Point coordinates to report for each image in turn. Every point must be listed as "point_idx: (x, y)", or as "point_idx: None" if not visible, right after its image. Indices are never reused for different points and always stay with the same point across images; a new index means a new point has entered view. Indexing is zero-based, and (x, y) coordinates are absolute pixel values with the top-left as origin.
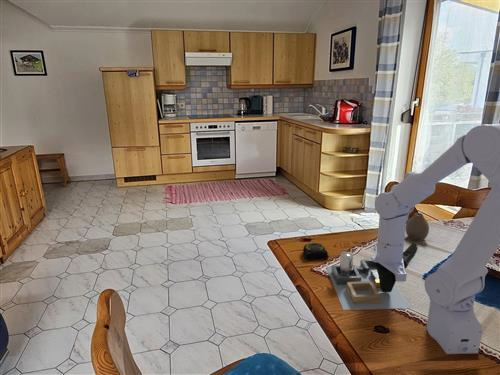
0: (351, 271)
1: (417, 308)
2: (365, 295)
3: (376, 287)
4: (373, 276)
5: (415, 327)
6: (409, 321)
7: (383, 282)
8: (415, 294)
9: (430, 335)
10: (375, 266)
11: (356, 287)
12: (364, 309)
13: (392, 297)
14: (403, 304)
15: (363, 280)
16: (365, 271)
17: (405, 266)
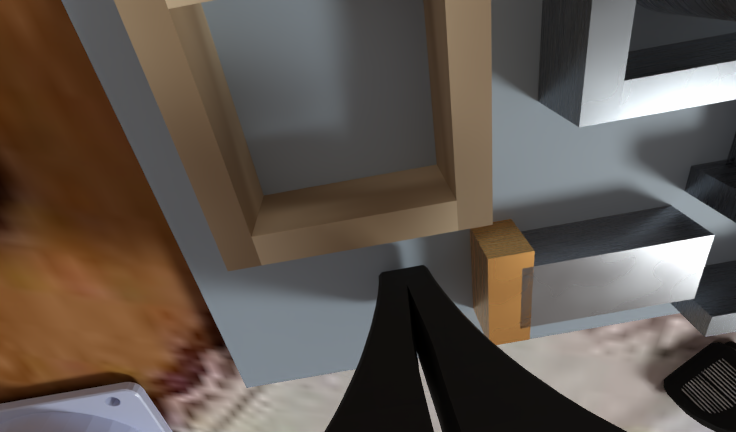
0: (726, 3)
1: (295, 393)
2: (196, 128)
3: (472, 230)
4: (614, 237)
5: (102, 363)
6: (149, 346)
7: (365, 357)
8: (431, 402)
9: (7, 427)
10: (577, 411)
11: (433, 40)
12: (100, 80)
13: (347, 313)
14: (276, 358)
15: (599, 134)
16: (723, 177)
17: (700, 420)
